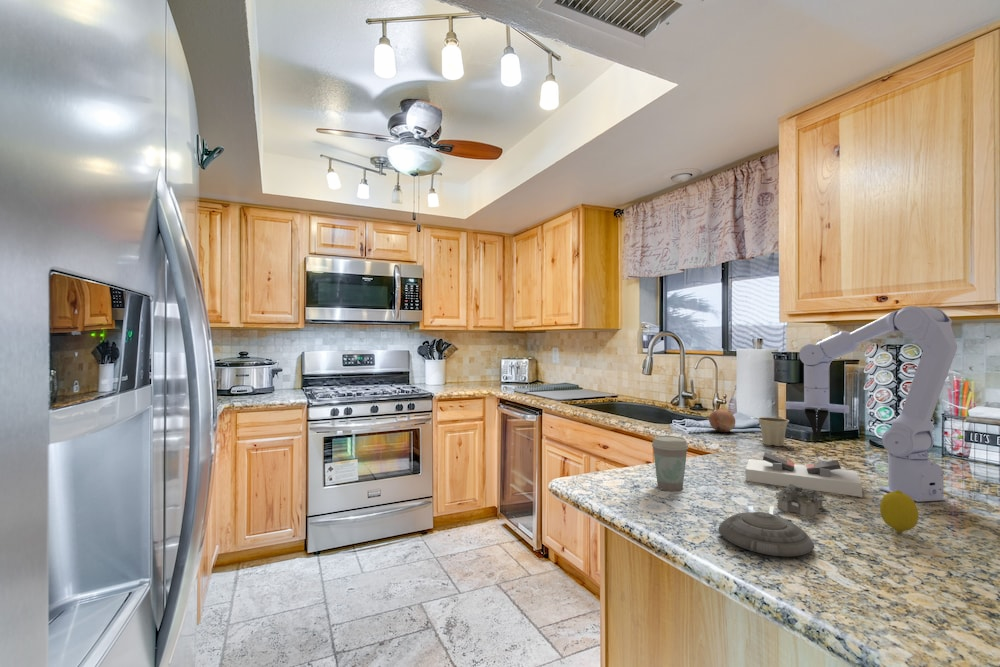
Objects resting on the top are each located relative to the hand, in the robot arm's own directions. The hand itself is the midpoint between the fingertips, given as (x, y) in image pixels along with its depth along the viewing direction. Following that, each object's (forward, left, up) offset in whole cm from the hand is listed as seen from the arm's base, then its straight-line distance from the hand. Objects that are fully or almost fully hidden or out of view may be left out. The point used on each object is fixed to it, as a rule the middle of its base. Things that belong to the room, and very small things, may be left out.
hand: (816, 437), depth 131 cm
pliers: (+3, -6, -10) cm, 12 cm away
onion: (+55, -8, -10) cm, 56 cm away
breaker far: (-5, +16, -5) cm, 17 cm away
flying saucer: (-39, +46, -10) cm, 61 cm away
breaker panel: (-8, +12, -9) cm, 17 cm away
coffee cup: (-7, +47, -10) cm, 48 cm away
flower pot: (+32, -12, -10) cm, 35 cm away
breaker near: (-11, +8, -5) cm, 15 cm away
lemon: (-39, +18, -10) cm, 44 cm away
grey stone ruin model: (-24, +26, -10) cm, 37 cm away
